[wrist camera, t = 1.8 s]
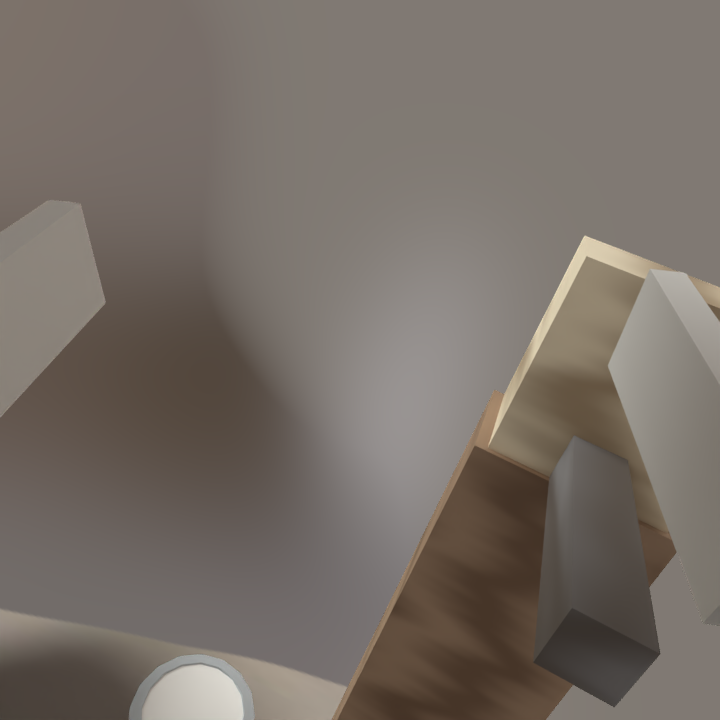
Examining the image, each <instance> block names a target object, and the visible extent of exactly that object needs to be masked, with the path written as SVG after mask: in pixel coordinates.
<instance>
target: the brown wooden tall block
mask: <svg viewBox="0 0 720 720" xmlns="http://www.w3.org/2000/svg"><path fill="white" fill-rule="evenodd" d="M503 397H504V394H502V393H500V392H498V391H496V390H494V392H493V394H492V396H491V398H490V400H489V402H488V404H487V406H486V408H485V410H484V412H483V414H482V416H481V418H480V420H479V422H478V424H477V426H476V428H475V430H474V433H473V434H472V436H471V438H470V440H469V442H468V445H467V446H466V449H465V451H464V453H463V455H462V457H461V459H460V461H459V463H458V465H457V467H456V469H455V471H454V473H453V475H452V477H451V479H450V481H449V483H448V485H447V487H446V489H445V491H444V493H443V495H442V497H441V499H440V501H439V503H438V505H437V507H436V510H435V511H434V514H433V515H432V518H431V519H430V522H429V523H428V526H427V528H426V530H425V532H424V534H423V536H422V538H421V540H420V542H419V544H418V546H417V548H416V550H415V552H414V554H413V556H412V558H411V560H410V562H409V564H408V566H407V568H406V570H405V572H404V574H403V576H402V578H401V580H400V582H399V584H398V587H397V588H396V590H395V592H394V595H393V597H392V599H391V601H390V603H389V605H388V607H387V609H386V611H385V613H384V615H383V617H382V619H381V621H380V623H379V625H378V627H377V629H376V631H375V633H374V635H373V637H372V639H371V641H370V643H369V645H368V647H367V649H366V651H365V654H364V655H363V657H362V660H361V661H360V663H359V666H358V668H357V669H356V671H355V674H354V676H353V678H352V680H351V682H350V684H349V686H348V688H347V690H346V692H345V694H344V696H343V698H342V700H341V702H340V704H339V706H338V708H337V710H336V712H335V714H334V716H333V718H332V720H546V718H547V717H548V716H549V715H550V714H551V712H552V711H553V710H554V708H555V707H556V706H557V705H558V703H559V702H560V701H561V700H562V698H563V697H564V696H565V694H566V693H567V692H568V691H569V689H570V688H571V687H572V685H573V684H571V683H569V682H568V681H566V680H564V679H562V678H560V677H558V676H557V675H555V674H553V673H551V672H549V671H548V670H546V669H544V668H542V667H540V666H538V665H537V664H535V663H533V658H534V647H535V635H536V624H537V612H538V601H539V589H540V578H541V566H542V555H543V543H544V532H545V520H546V509H547V497H548V486H549V477H548V476H546V475H544V474H542V473H540V472H538V471H536V470H534V469H532V468H530V467H528V466H525V465H523V464H521V463H519V462H517V461H515V460H513V459H511V458H509V457H507V456H505V455H502V454H500V453H498V452H496V451H494V450H492V449H490V448H488V446H489V442H490V439H491V436H492V433H493V429H494V426H495V423H496V420H497V416H498V413H499V410H500V407H501V403H502V400H503ZM638 524H639V530H640V536H641V542H642V548H643V553H644V559H645V565H646V571H647V577H648V583H649V587H650V586H651V584H652V583H653V582H654V580H655V579H656V578H657V577H658V576H659V574H660V573H661V572H662V570H663V569H664V568H665V566H666V565H667V564H668V563H669V561H670V560H671V559H672V558H673V556H674V555H675V554H676V549H675V546H674V544H673V541H672V538H671V536H670V533H669V532H668V533H665V532H663V531H661V530H659V529H657V528H655V527H653V526H651V525H649V524H647V523H644V522H642V521H640V520H638Z"/></svg>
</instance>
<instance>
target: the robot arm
mask: <svg viewBox="0 0 720 720" xmlns="http://www.w3.org/2000/svg"><path fill="white" fill-rule="evenodd" d="M105 303H106V302H105V299H104V295H103V291H102V287H101V283H100V279H99V275H98V271H97V267H96V264H95V260H94V255H93V252H92V247H91V244H90V240H89V236H88V232H87V228H86V224H85V220H84V216H83V212H82V208H81V205H80V203H74V202H64V201H56V200H48V201H46V202H45V203H43V204H42V205H40V206H39V207H37V208H36V209H34V210H33V211H31V212H30V213H28V214H27V215H26V216H24V217H23V218H21V219H20V220H18V221H17V222H15V223H14V224H12V225H11V226H9V227H8V228H6V229H5V230H3V231H2V232H0V417H1V416H2V415H3V414H4V413H5V412H6V411H7V409H8V408H9V407H10V406H11V405H12V404H13V403H14V402H15V401H16V399H18V397H19V396H20V395H21V394H22V393H23V392H24V391H25V390H26V389H27V387H29V386H30V384H31V383H32V382H33V381H34V380H35V379H36V378H37V377H38V376H39V375H40V374H41V372H42V371H43V370H44V369H45V368H46V367H47V366H48V365H49V364H50V363H51V362H52V360H53V359H54V358H55V357H56V356H57V355H58V354H59V353H60V352H61V351H62V350H63V349H64V347H65V346H66V345H67V344H68V343H69V342H70V341H71V340H72V339H73V338H74V337H75V335H76V334H77V333H78V332H79V331H80V330H81V329H82V328H83V327H84V326H85V325H86V324H87V322H88V321H89V320H90V319H91V318H92V317H93V316H94V315H95V314H96V313H97V311H98V310H99V309H100V308H101V307H102V306H103V305H104V304H105ZM608 368H609V371H610V373H611V376H612V379H613V381H614V384H615V387H616V389H617V392H618V395H619V398H620V400H621V403H622V406H623V408H624V411H625V414H626V417H627V419H628V422H629V425H630V427H631V430H632V433H633V436H634V438H635V441H636V444H637V446H638V449H639V452H640V454H641V457H642V460H643V463H644V465H645V468H646V471H647V473H648V476H649V479H650V482H651V484H652V487H653V490H654V492H655V495H656V498H657V500H658V503H659V506H660V509H661V511H662V514H663V517H664V519H665V522H666V525H667V528H668V530H669V533H670V536H671V538H672V541H673V544H674V546H675V549H676V552H677V554H678V557H679V560H680V563H681V565H682V568H683V571H684V573H685V576H686V579H687V582H688V584H689V587H690V590H691V592H692V595H693V598H694V601H695V603H696V606H697V609H698V611H699V614H700V617H701V619H702V622H703V623H704V624H711V625H717V626H720V322H719V320H718V319H717V317H716V316H715V315H714V313H713V312H712V310H711V309H710V307H709V306H708V305H707V303H706V302H705V300H704V299H703V297H702V296H701V295H700V293H699V292H698V290H697V289H696V287H695V286H694V285H693V283H692V282H691V280H690V279H689V277H688V276H687V274H686V273H682V272H674V271H666V270H657V269H650V270H649V272H648V274H647V276H646V279H645V281H644V283H643V286H642V288H641V290H640V293H639V295H638V297H637V299H636V302H635V304H634V306H633V309H632V311H631V313H630V316H629V318H628V320H627V322H626V325H625V327H624V329H623V332H622V334H621V336H620V339H619V341H618V343H617V346H616V348H615V350H614V352H613V355H612V357H611V359H610V362H609V364H608Z"/></svg>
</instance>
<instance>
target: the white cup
mask: <svg viewBox="0 0 720 720" xmlns="http://www.w3.org/2000/svg"><path fill="white" fill-rule="evenodd" d="M254 717H255V713H254V706H253V698H252V692H251V690H250V689H249V687H248V685H247V683H246V682H245V680H244V678H243V677H242V675H241V673H240V672H238V671H237V670H236V669H235V668H233V667H232V666H231V665H229V664H228V663H227V662H225V661H224V660H222V659H218V658H215V657H211V656H208V655H204V654H197V655H186V656H179V657H177V658H174V659H172V660H170V661H168V662H166V663H164V664H162V665H160V666H158V667H157V668H156V669H155V670H154V671H153V672H152V673H151V674H150V675H149V676H148V677H147V678H146V679H145V680H144V681H143V682H142V683H141V684H140V686H139V688H138V690H137V692H136V694H135V697H134V699H133V701H132V703H131V706H130V708H129V720H254Z"/></svg>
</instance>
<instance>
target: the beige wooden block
mask: <svg viewBox="0 0 720 720" xmlns="http://www.w3.org/2000/svg"><path fill="white" fill-rule="evenodd" d="M650 269H657V270H666V271H674V272H678V271H675V270H673V269H670V268H668V267H665V266H662V265H660V264H657V263H655V262H652V261H649V260H647V259H644V258H642V257H639V256H636V255H634V254H631V253H629V252H626V251H624V250H621V249H618V248H616V247H613V246H611V245H608V244H605V243H603V242H600V241H597V240H595V239H592V238H590V237H587V236H584V238H583V240H582V242H581V244H580V246H579V247H578V249H577V252H576V253H575V256H574V258H573V259H572V261H571V263H570V265H569V267H568V269H567V271H566V273H565V275H564V277H563V279H562V281H561V283H560V285H559V287H558V289H557V291H556V293H555V295H554V297H553V299H552V301H551V303H550V305H549V307H548V309H547V311H546V313H545V315H544V317H543V319H542V321H541V323H540V325H539V327H538V329H537V331H536V333H535V335H534V337H533V339H532V341H531V343H530V345H529V347H528V349H527V351H526V353H525V354H524V356H523V359H522V361H521V362H520V365H519V366H518V368H517V370H516V372H515V374H514V377H513V378H512V380H511V382H510V384H509V386H508V388H507V390H506V392H505V394H504V397H503V400H502V403H501V407H500V410H499V413H498V416H497V420H496V423H495V426H494V429H493V433H492V436H491V439H490V442H489V446H488V448H490V449H492V450H494V451H496V452H498V453H500V454H502V455H505V456H507V457H509V458H511V459H513V460H515V461H517V462H519V463H521V464H523V465H525V466H528V467H530V468H532V469H534V470H536V471H538V472H540V473H542V474H544V475H546V476H548V477H549V486H548V497H547V509H546V520H545V532H544V543H543V555H542V566H541V578H540V589H539V601H538V612H537V624H536V635H535V647H534V658H533V663H535V664H537V665H538V666H540V667H542V668H544V669H546V670H548V671H549V672H551V673H553V674H555V675H557V676H558V677H560V678H562V679H564V680H566V681H568V682H569V683H571V684H573V685H575V686H577V687H578V688H580V689H582V690H584V691H586V692H587V693H589V694H591V695H593V696H595V697H597V698H599V699H600V700H602V701H604V702H606V703H607V704H609V705H611V706H613V707H615V706H616V705H617V704H618V703H619V701H620V700H621V699H622V698H623V697H624V695H625V694H626V693H627V692H628V691H629V690H630V688H631V687H632V686H633V685H634V684H635V683H636V681H637V680H638V679H639V678H640V677H641V676H642V675H643V673H644V672H645V671H646V670H647V669H648V668H649V666H650V665H651V664H652V663H653V662H654V661H655V659H656V658H657V657H658V656H659V655H660V649H659V643H658V637H657V631H656V625H655V619H654V613H653V607H652V601H651V595H650V590H649V583H648V577H647V571H646V565H645V559H644V553H643V548H642V542H641V536H640V530H639V524H638V520H640V521H642V522H644V523H647V524H649V525H651V526H653V527H655V528H657V529H659V530H661V531H663V532H665V533H668V532H669V530H668V528H667V525H666V522H665V519H664V517H663V514H662V511H661V509H660V506H659V503H658V500H657V498H656V495H655V492H654V490H653V487H652V484H651V482H650V479H649V476H648V473H647V471H646V468H645V465H644V463H643V460H642V457H641V454H640V452H639V449H638V446H637V444H636V441H635V438H634V436H633V433H632V430H631V427H630V425H629V422H628V419H627V417H626V414H625V411H624V408H623V406H622V403H621V400H620V398H619V395H618V392H617V389H616V387H615V384H614V381H613V379H612V376H611V373H610V371H609V368H608V364H609V362H610V359H611V357H612V355H613V352H614V350H615V348H616V346H617V343H618V341H619V339H620V336H621V334H622V332H623V329H624V327H625V325H626V322H627V320H628V318H629V316H630V313H631V311H632V309H633V306H634V304H635V302H636V299H637V297H638V295H639V293H640V290H641V288H642V286H643V283H644V281H645V279H646V276H647V274H648V272H649V270H650ZM687 276H688V275H687ZM688 277H689V279H690V280H691V282H692V283H693V285H694V286H695V287H696V289H697V290H698V292H699V293H700V295H701V296H702V297H703V299H704V300H705V302H706V303H707V305H708V306H709V307H710V309H711V310H712V312H713V313H714V315H715V316H716V317H717V319H718V320H719V322H720V288H719V287H717V286H714V285H712V284H709V283H707V282H704V281H701V280H699V279H696V278H694V277H691V276H688Z"/></svg>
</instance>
